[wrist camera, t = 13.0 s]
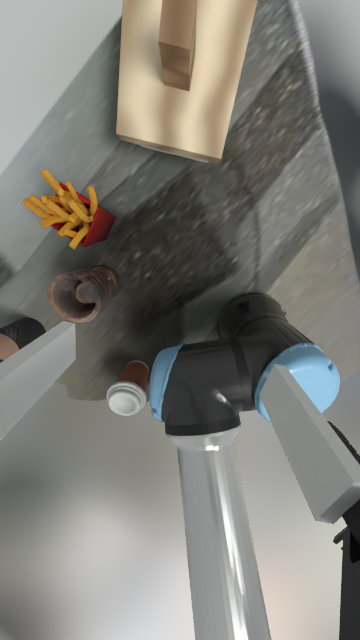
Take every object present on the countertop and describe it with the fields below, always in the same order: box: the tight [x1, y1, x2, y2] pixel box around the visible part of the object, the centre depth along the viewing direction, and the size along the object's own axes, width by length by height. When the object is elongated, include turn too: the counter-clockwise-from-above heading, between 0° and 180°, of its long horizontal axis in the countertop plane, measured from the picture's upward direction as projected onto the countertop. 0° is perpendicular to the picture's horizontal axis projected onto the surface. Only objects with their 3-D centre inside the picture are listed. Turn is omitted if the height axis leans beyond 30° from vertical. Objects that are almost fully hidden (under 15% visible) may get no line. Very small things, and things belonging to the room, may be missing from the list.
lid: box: [116, 0, 257, 164], centre depth 22 cm, size 15×15×8 cm
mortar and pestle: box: [47, 266, 121, 323], centre depth 33 cm, size 12×9×20 cm
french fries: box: [22, 169, 116, 250], centre depth 31 cm, size 9×8×15 cm
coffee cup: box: [106, 360, 149, 416], centre depth 47 cm, size 9×9×12 cm
